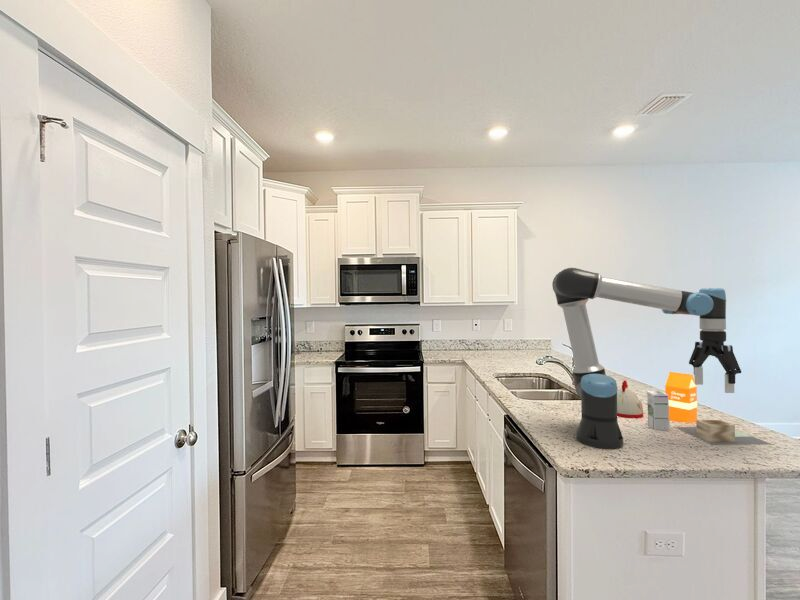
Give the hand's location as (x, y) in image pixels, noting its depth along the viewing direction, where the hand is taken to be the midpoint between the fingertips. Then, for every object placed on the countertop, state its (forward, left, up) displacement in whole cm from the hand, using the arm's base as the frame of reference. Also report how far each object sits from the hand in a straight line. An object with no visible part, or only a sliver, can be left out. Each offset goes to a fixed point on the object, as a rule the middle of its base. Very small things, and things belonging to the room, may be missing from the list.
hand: (713, 388), depth 141 cm
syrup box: (-12, +12, -19) cm, 26 cm away
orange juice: (+5, +23, -19) cm, 30 cm away
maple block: (0, -1, -18) cm, 18 cm away
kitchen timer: (-13, +33, -19) cm, 41 cm away
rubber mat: (+5, +3, -19) cm, 19 cm away
